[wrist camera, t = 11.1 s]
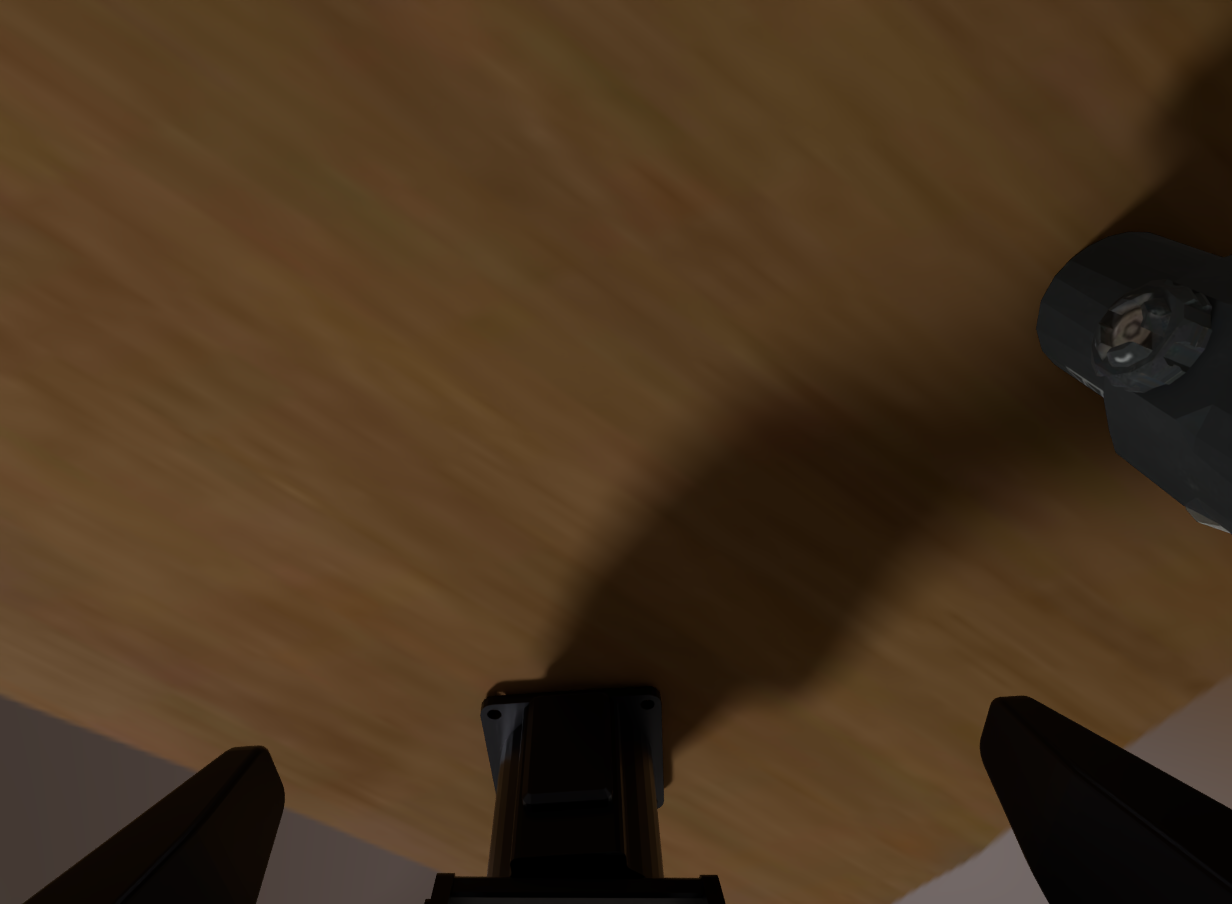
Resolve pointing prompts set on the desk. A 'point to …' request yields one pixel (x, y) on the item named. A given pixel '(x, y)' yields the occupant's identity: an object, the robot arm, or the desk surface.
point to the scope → (1153, 359)
